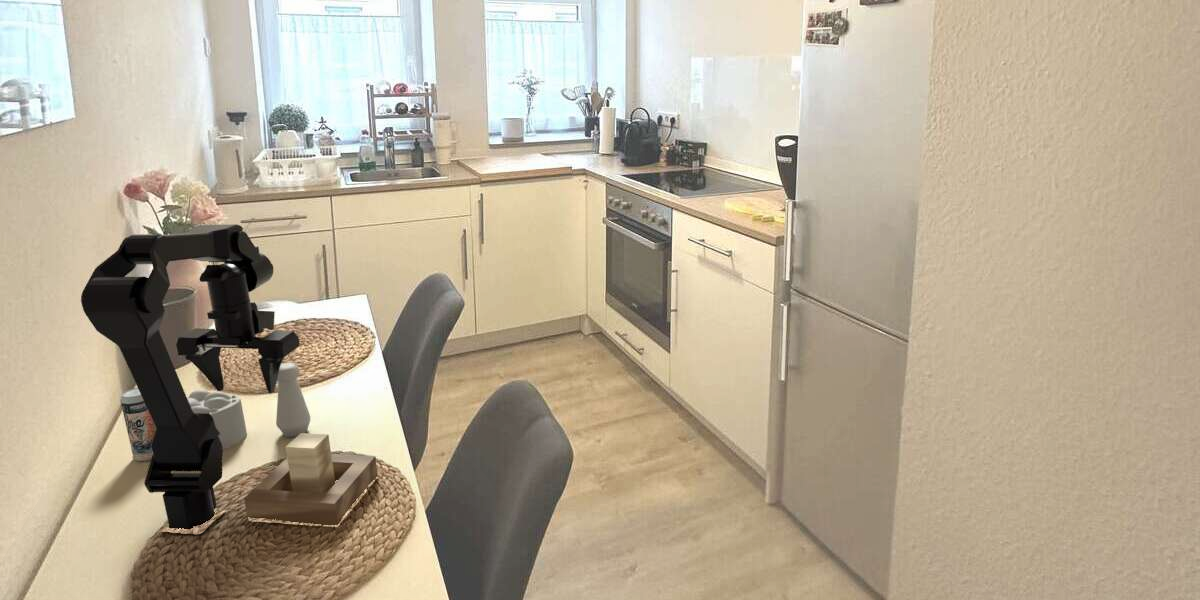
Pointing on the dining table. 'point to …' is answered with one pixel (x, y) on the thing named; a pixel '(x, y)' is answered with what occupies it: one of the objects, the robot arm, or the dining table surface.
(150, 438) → the beer can
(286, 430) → the salt shaker
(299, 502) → the socket block
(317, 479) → the birch peg
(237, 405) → the lumpy-topped squat cylinder
